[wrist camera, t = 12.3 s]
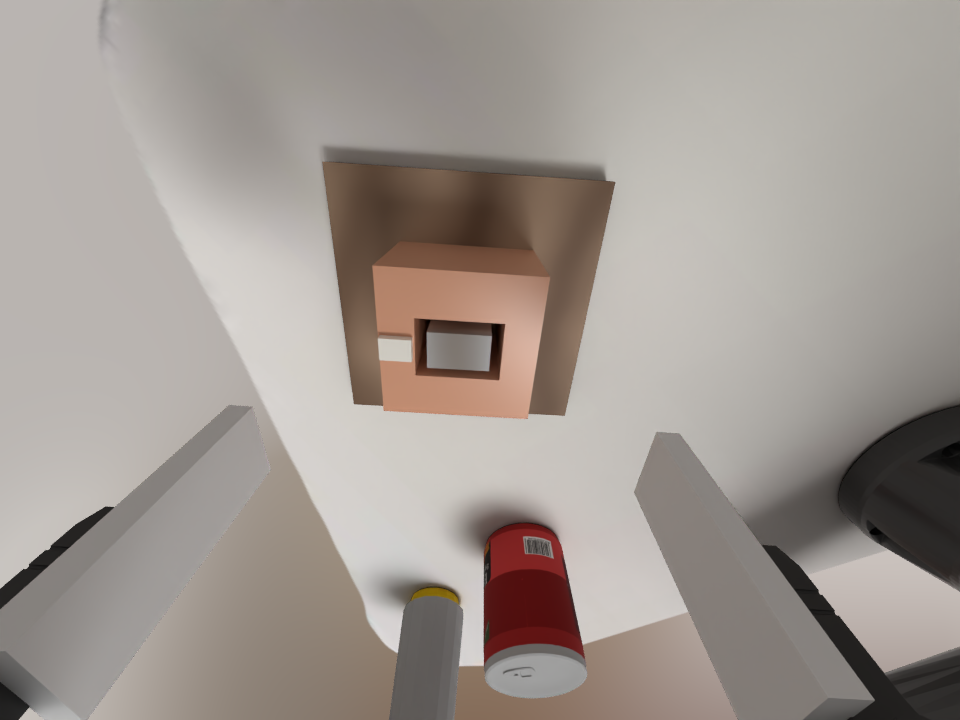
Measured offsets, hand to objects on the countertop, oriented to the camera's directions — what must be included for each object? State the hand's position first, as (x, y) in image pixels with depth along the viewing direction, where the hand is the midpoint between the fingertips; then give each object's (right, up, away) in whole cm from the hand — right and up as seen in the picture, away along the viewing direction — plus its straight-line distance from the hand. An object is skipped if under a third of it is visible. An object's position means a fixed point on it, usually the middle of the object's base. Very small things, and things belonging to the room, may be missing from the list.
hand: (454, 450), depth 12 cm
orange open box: (0, +6, +11) cm, 13 cm away
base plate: (0, +7, +12) cm, 14 cm away
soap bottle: (-4, -25, +30) cm, 40 cm away
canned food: (+5, -16, +25) cm, 30 cm away
